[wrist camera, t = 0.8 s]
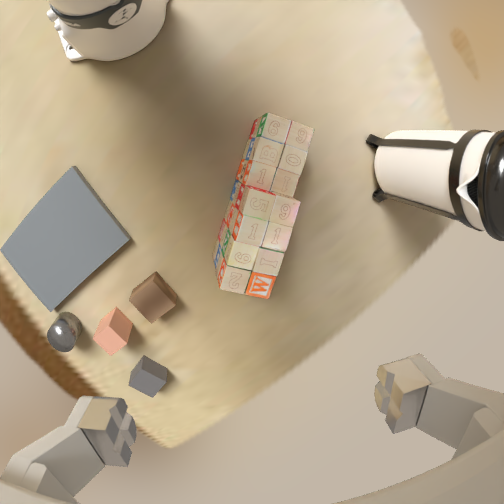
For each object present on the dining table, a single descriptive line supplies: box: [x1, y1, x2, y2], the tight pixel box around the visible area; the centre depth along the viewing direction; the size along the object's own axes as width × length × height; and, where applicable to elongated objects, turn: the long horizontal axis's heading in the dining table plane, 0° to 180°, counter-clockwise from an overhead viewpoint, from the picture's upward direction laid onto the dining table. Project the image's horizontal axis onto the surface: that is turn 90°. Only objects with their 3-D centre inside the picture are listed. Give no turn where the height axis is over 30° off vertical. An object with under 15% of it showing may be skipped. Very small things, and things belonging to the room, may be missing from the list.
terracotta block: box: [93, 307, 133, 356], centre depth 44 cm, size 4×4×6 cm
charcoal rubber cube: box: [129, 356, 167, 398], centre depth 50 cm, size 5×5×4 cm
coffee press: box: [366, 130, 504, 241], centre depth 34 cm, size 17×16×30 cm
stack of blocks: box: [213, 113, 314, 299], centre depth 39 cm, size 21×6×12 cm, turn 162°
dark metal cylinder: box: [47, 312, 82, 352], centre depth 43 cm, size 5×5×5 cm
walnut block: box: [129, 272, 177, 323], centre depth 45 cm, size 5×5×4 cm
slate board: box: [0, 166, 131, 312], centre depth 41 cm, size 14×20×2 cm
